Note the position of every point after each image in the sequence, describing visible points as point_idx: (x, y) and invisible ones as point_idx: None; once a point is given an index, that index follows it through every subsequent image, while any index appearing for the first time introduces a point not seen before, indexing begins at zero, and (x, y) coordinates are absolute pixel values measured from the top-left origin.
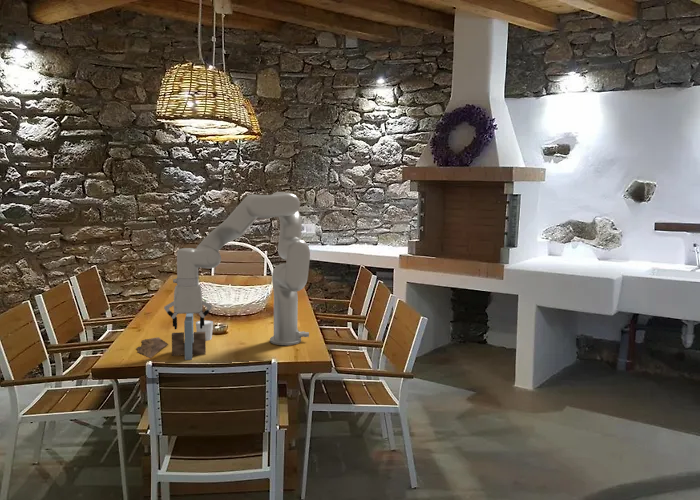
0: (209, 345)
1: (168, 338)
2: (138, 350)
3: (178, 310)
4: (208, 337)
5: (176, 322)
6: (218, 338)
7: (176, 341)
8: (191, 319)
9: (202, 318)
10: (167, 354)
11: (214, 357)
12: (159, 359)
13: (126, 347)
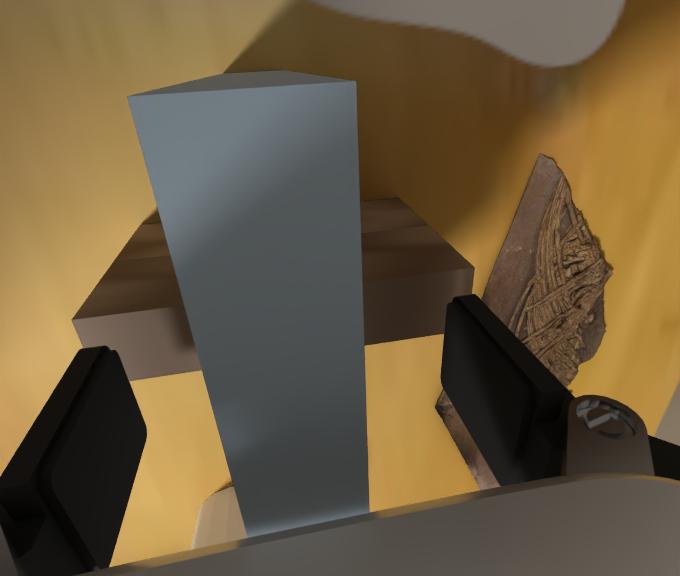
0: (175, 416)
1: (435, 494)
2: (601, 295)
3: (668, 561)
4: (208, 511)
5: (491, 361)
6: (158, 527)
7: (398, 242)
8: (206, 362)
9: (12, 505)
10: (431, 227)
11: (19, 130)
12: (485, 102)
13: (644, 354)
